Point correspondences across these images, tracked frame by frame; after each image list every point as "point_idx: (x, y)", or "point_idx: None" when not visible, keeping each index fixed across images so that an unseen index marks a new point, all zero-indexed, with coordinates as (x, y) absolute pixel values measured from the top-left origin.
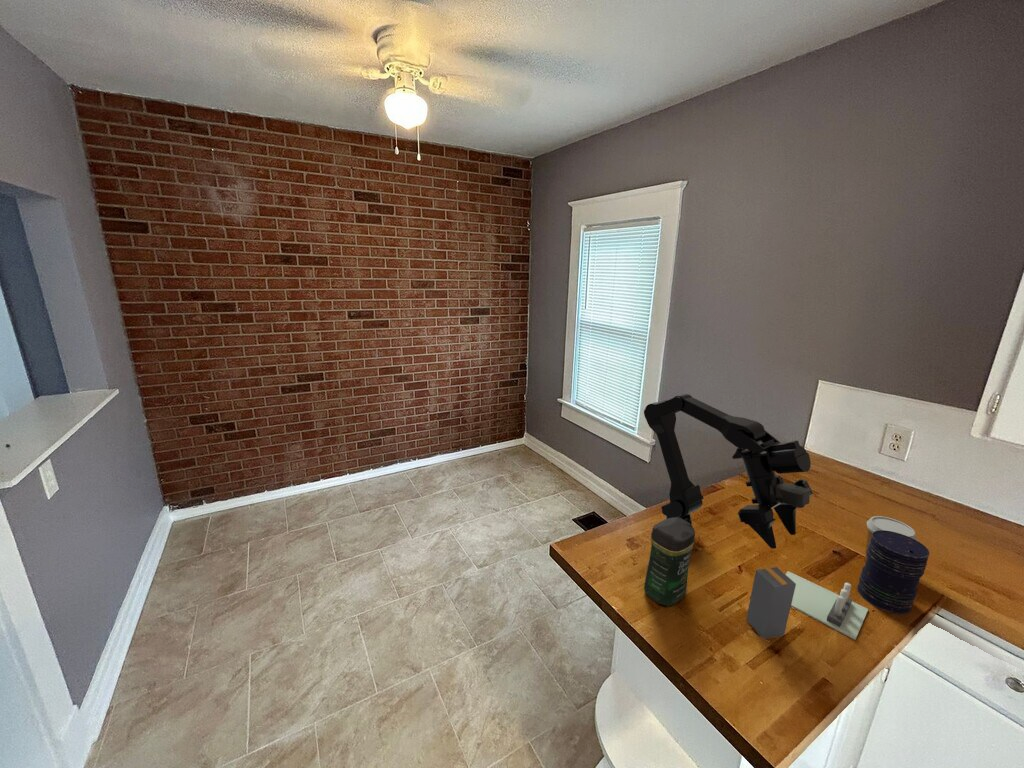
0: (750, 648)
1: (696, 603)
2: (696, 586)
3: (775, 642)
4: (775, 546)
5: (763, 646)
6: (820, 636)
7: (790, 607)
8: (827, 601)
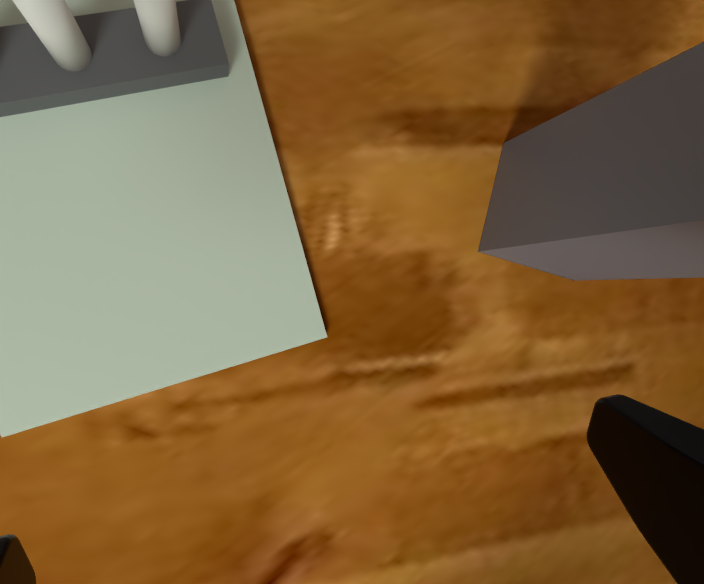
0: None
1: None
2: (606, 529)
3: None
4: (635, 406)
5: None
6: (355, 50)
7: (624, 82)
8: (55, 146)
